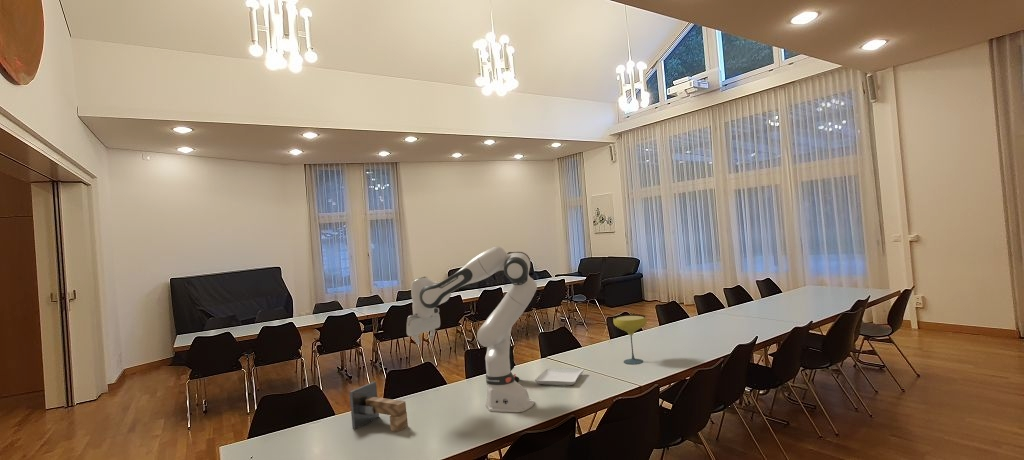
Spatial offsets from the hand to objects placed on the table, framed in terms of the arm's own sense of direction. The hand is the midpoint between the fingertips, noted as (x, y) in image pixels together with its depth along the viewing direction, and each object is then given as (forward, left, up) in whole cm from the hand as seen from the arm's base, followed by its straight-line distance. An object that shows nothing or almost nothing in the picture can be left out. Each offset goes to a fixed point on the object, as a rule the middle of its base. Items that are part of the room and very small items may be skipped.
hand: (425, 341), depth 224 cm
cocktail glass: (-69, -93, -31) cm, 120 cm away
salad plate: (-42, -53, -32) cm, 75 cm away
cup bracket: (+14, +23, -31) cm, 41 cm away
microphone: (-15, -44, -31) cm, 56 cm away
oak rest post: (-2, +23, -31) cm, 39 cm away
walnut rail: (+5, +23, -25) cm, 34 cm away
